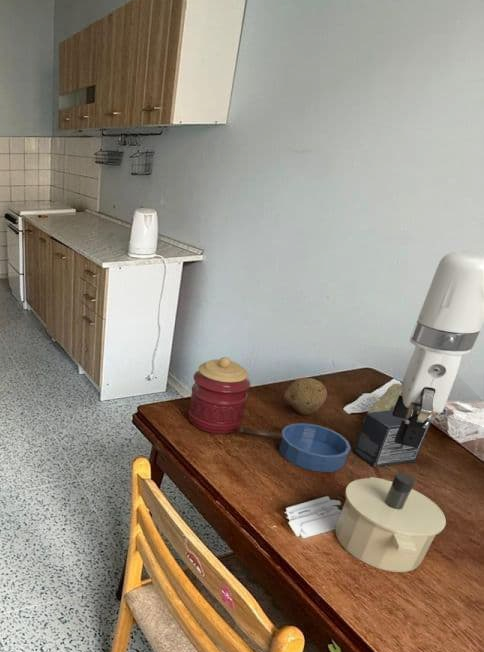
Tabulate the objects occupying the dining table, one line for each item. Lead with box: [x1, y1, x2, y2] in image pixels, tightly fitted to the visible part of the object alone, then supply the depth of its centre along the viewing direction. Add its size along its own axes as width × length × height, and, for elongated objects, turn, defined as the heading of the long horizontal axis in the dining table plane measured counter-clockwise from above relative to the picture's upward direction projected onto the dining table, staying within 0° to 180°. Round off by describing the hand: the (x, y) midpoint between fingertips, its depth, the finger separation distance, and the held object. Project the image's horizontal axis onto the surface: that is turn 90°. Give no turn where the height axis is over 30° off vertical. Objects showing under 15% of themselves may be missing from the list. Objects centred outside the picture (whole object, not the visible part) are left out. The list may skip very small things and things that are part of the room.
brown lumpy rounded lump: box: [284, 377, 328, 416], centre depth 120 cm, size 9×9×10 cm
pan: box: [277, 422, 352, 473], centre depth 106 cm, size 13×13×4 cm
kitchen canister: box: [187, 356, 251, 435], centre depth 116 cm, size 13×13×18 cm
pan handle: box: [237, 426, 282, 441], centre depth 109 cm, size 10×2×2 cm, turn 70°
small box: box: [352, 410, 433, 468], centre depth 103 cm, size 11×6×10 cm, turn 100°
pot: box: [334, 476, 436, 573], centre depth 81 cm, size 13×18×8 cm
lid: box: [344, 472, 447, 537], centre depth 78 cm, size 14×14×7 cm
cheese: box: [363, 382, 418, 421], centre depth 115 cm, size 15×7×15 cm
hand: (404, 430), depth 80 cm, fingers open, 9 cm apart
